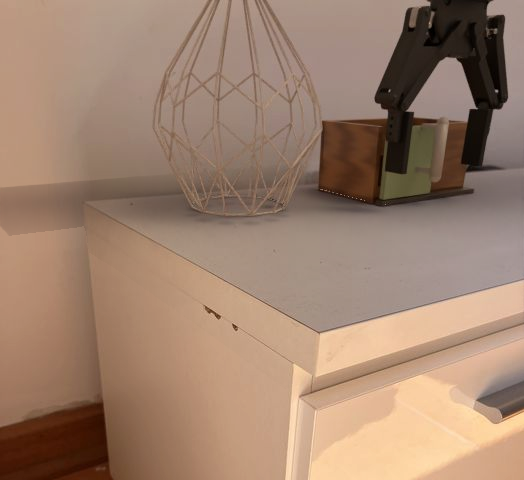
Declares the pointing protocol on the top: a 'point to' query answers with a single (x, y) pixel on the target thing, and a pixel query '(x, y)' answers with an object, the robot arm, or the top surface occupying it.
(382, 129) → the box
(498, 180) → the top surface
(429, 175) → the sliding door
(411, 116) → the robot arm
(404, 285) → the top surface
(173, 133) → the table lamp
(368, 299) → the top surface
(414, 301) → the top surface
